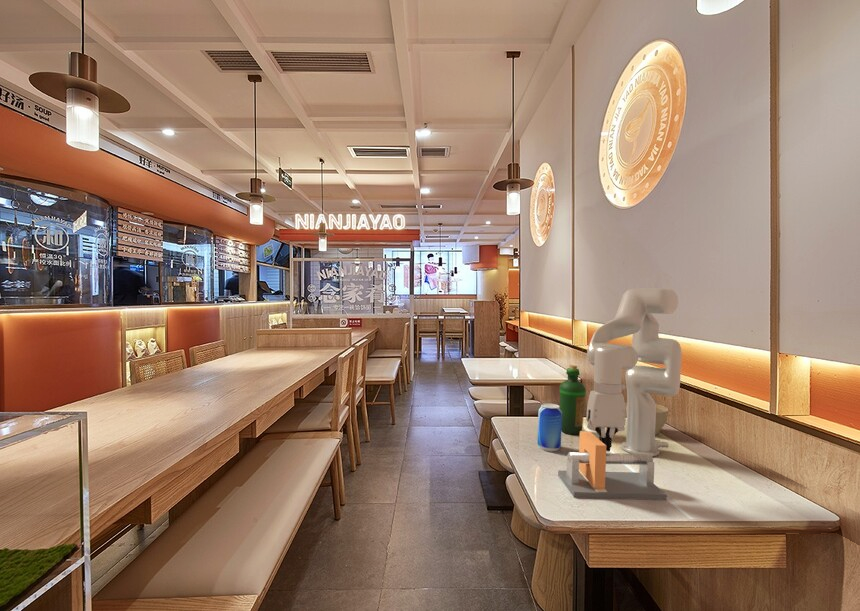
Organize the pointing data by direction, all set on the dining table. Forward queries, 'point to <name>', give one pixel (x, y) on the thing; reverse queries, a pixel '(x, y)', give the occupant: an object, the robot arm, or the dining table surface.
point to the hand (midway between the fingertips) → (605, 449)
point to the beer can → (549, 427)
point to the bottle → (572, 402)
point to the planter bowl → (658, 417)
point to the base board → (613, 487)
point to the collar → (593, 459)
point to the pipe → (613, 458)
